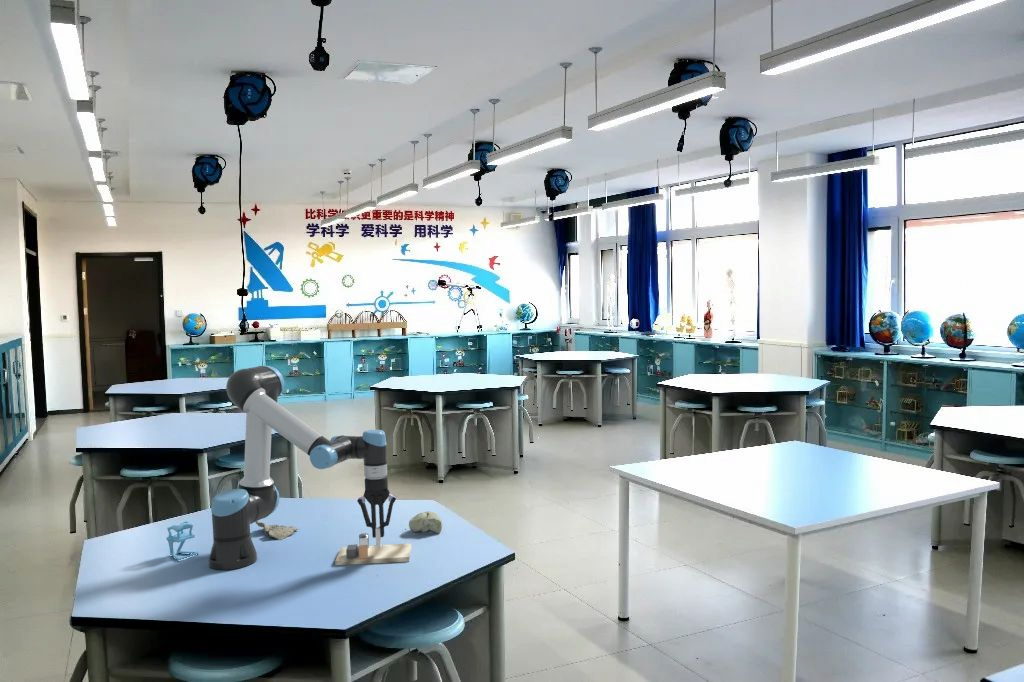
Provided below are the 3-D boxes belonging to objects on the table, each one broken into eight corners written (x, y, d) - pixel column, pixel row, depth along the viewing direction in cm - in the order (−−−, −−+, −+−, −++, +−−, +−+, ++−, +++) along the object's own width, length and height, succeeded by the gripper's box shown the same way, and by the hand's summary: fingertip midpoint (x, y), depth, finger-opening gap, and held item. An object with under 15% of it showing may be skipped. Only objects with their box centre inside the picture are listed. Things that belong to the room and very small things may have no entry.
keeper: (346, 558, 252) (346, 549, 252) (348, 553, 257) (348, 544, 257) (355, 558, 252) (355, 549, 252) (357, 553, 257) (357, 544, 257)
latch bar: (359, 546, 264) (359, 533, 264) (369, 545, 265) (368, 533, 264) (358, 559, 251) (358, 546, 251) (368, 558, 251) (368, 545, 251)
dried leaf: (293, 540, 279) (292, 527, 278) (248, 543, 277) (247, 529, 277) (302, 526, 296) (301, 513, 296) (260, 528, 295) (259, 515, 295)
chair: (183, 551, 269) (181, 517, 268) (199, 554, 265) (197, 520, 264) (163, 558, 262) (162, 523, 262) (179, 561, 258) (177, 526, 257)
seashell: (406, 515, 279) (414, 505, 289) (405, 536, 281) (413, 524, 291) (439, 520, 277) (446, 508, 287) (439, 540, 279) (446, 528, 289)
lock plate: (335, 565, 250) (335, 560, 250) (341, 551, 264) (341, 546, 264) (409, 561, 252) (408, 557, 252) (411, 547, 266) (411, 543, 266)
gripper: (354, 480, 249) (357, 551, 251) (394, 478, 250) (397, 549, 252) (357, 475, 257) (360, 544, 258) (396, 473, 258) (399, 542, 259)
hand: (378, 546), depth 255 cm, fingers closed
